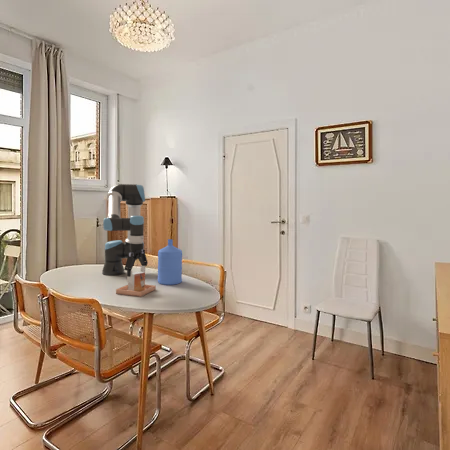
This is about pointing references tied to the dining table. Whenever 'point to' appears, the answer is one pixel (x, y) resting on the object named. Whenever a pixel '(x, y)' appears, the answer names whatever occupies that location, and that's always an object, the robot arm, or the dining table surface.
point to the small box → (137, 281)
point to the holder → (125, 291)
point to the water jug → (169, 265)
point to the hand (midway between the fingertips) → (136, 279)
